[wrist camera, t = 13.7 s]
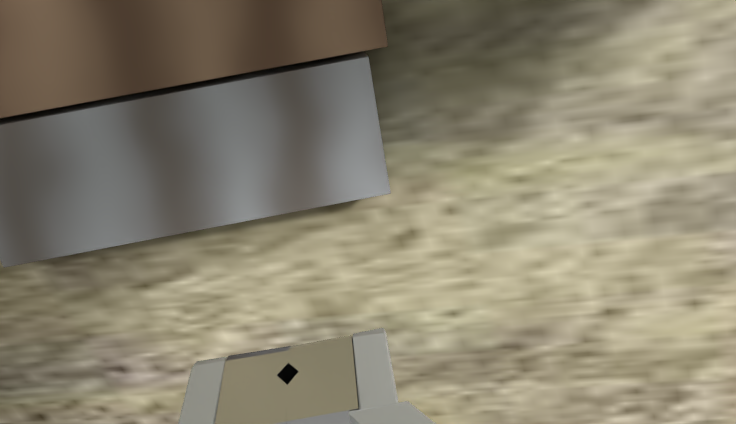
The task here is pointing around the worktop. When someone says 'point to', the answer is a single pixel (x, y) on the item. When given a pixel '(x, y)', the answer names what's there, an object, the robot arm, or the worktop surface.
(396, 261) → the worktop surface
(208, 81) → the grey plank
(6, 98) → the walnut strip
